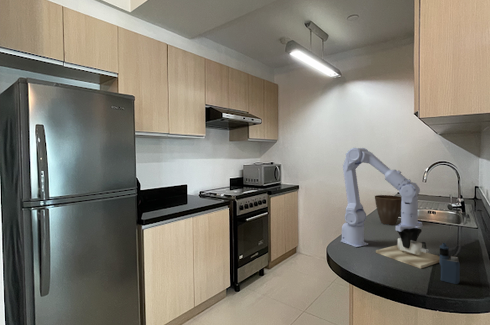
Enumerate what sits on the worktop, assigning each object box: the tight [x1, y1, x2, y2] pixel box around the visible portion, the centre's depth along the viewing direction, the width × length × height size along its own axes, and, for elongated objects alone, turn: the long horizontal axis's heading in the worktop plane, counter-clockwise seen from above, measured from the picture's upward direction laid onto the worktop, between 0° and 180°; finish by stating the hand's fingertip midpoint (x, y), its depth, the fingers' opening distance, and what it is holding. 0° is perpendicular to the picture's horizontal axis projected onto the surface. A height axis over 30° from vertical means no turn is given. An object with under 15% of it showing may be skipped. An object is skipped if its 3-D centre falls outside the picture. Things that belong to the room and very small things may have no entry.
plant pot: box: [374, 194, 402, 226], centre depth 160 cm, size 15×15×16 cm
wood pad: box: [375, 244, 440, 269], centre depth 108 cm, size 18×16×1 cm
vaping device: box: [439, 242, 461, 285], centre depth 87 cm, size 3×5×12 cm, turn 51°
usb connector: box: [397, 237, 430, 255], centre depth 107 cm, size 11×3×4 cm, turn 27°
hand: (409, 246), depth 108 cm, fingers closed on usb connector, 3 cm apart
